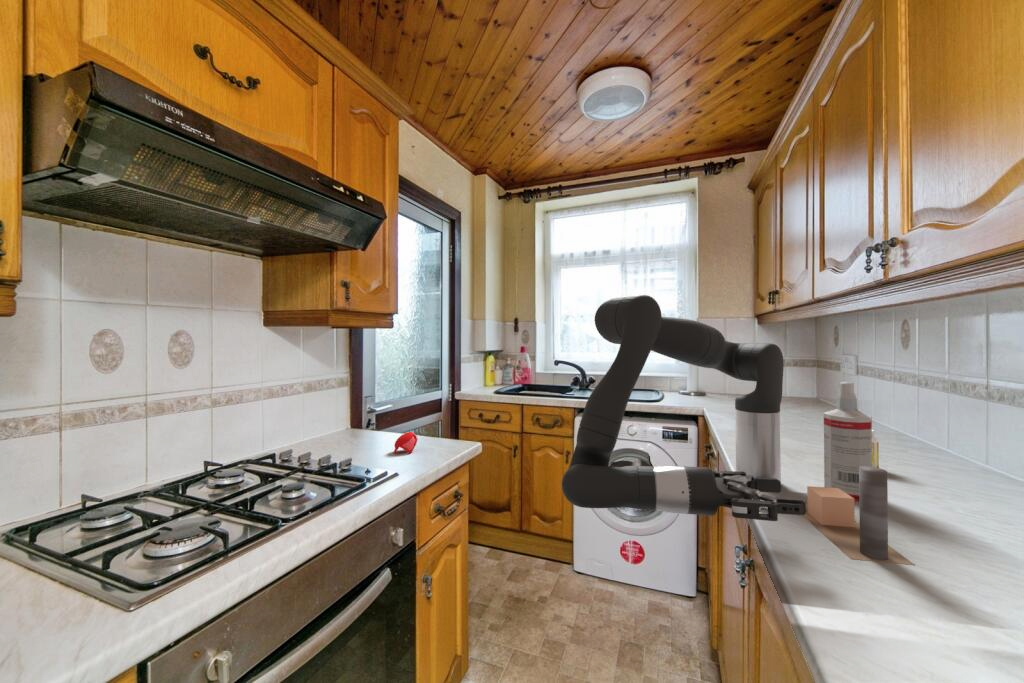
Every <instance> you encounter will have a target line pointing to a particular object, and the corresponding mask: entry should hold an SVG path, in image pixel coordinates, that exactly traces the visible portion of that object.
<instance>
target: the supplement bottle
mask: <svg viewBox="0 0 1024 683" xmlns="http://www.w3.org/2000/svg"><path fill="white" fill-rule="evenodd" d="M879 450H880V448H879V439H878V438H877V437H875V429H872V467H876V468H880V467H879V466H880V465H879V461H880V460H879V459H880V458H879V457H880V456H879V454H880V453H879Z"/></svg>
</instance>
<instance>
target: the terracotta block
mask: <svg viewBox="0 0 1024 683" xmlns="http://www.w3.org/2000/svg"><path fill="white" fill-rule="evenodd" d="M806 487H807V491H806V492H807V502H808V513H809V514H810V515H811V516H812V517H813V518H815V519H816V520H817V521H818V522H819V523H820V524H822V525H832V526H845V527H855V520H856V519H855V517H856V516H855V515H856V514H855V501H854V498H853V497H851V496H850V495H848V494H846V493H845V492H843V491H842V490H840V489H839V488H829V487H824V486H813V485H810V486H808V485H807V486H806Z"/></svg>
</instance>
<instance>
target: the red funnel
mask: <svg viewBox="0 0 1024 683" xmlns="http://www.w3.org/2000/svg"><path fill="white" fill-rule="evenodd" d="M417 443H418V437H417V435H416V434H415V433H414V432H412V431H409V432H404V433H403V434H401V435H400V436H399V437H397V439H396V440H395V442H394V450H393V454H396V452H398V450H399V448H400V449H403V450H404V451H406V452H408V453H409V454H412V453H413V451H414V449H415V447H416V445H417Z"/></svg>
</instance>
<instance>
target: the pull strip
mask: <svg viewBox="0 0 1024 683" xmlns="http://www.w3.org/2000/svg"><path fill="white" fill-rule="evenodd" d="M888 488H889V487H888V470H885V469H882V468H880V467H879V468H876V467H869V466H861V467H859V501H858V502H859V506H858V507H859V511H858V512H859V522H857V521H855V527H845V526H832V525H822V524H820V523H819V522H818V521H817V520H816V519H815V518H813V517H812V516H811V515H810V514H809V513H808V501H804V502H805V503H806V513H805V514H804V515H801V516H802V517H804V518H805V519H806V520H807V521H808V522H809V523H810V524H811V525H812V526H813V527H814V528H816V529H817V530H818V531H819V532H820V533H821V534H822V535H824V536H825V538H827V539H828V540H829V541H830V542H831V543H833V544H834V546H835V547H837V548H838V549H839V550H840V551H841V552H842V553H843V554H845V555H846V556H847V557H848V558H849V559H850V560H853V561H854V560H855V561H863V562H864V561H867V562H877V563H885V564H886V563H889V564H899V565H908V566H910V565H911V566H915V563H913V562H912V561H911V560H909V559H908V558H906V557H905V556H904V555H902V554H901V553H900V552H898V551H897V550H896V549H894V548H892V547H891V546H890V545H889V528H888V527H889V525H888V524H889V518H888V516H889V515H888V514H889V513H888V512H889V508H888V507H889V505H888V504H889V503H888V502H889V501H888V500H889V498H888V493H889V492H888Z"/></svg>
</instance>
